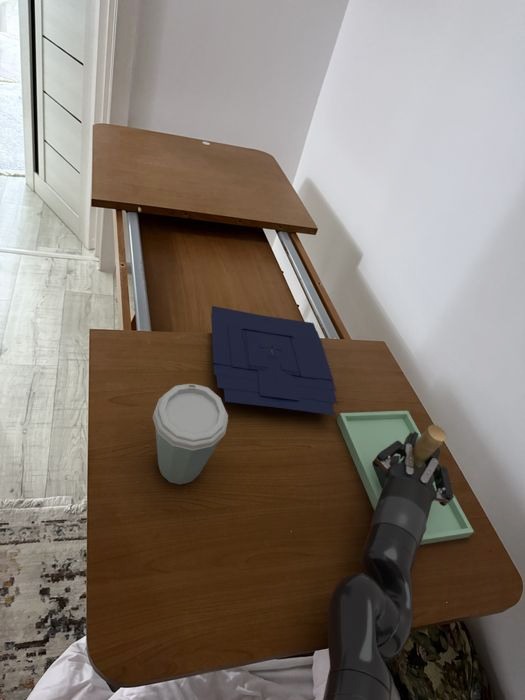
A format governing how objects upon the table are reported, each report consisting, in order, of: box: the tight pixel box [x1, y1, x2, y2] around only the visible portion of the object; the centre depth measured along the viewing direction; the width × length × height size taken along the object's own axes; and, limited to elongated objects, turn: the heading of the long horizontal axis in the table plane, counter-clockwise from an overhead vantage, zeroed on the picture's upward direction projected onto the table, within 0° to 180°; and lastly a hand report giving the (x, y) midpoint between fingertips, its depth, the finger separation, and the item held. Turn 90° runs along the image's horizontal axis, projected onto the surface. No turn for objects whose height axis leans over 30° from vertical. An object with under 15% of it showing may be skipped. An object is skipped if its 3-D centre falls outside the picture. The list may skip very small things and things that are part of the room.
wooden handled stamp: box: [372, 424, 447, 489], centre depth 86 cm, size 5×10×13 cm, turn 102°
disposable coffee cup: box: [152, 383, 229, 486], centre depth 75 cm, size 11×11×15 cm
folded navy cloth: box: [210, 305, 338, 416], centre depth 102 cm, size 24×30×4 cm
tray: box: [335, 410, 475, 546], centre depth 91 cm, size 26×16×2 cm, turn 15°
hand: (424, 441), depth 88 cm, fingers closed on wooden handled stamp, 3 cm apart
